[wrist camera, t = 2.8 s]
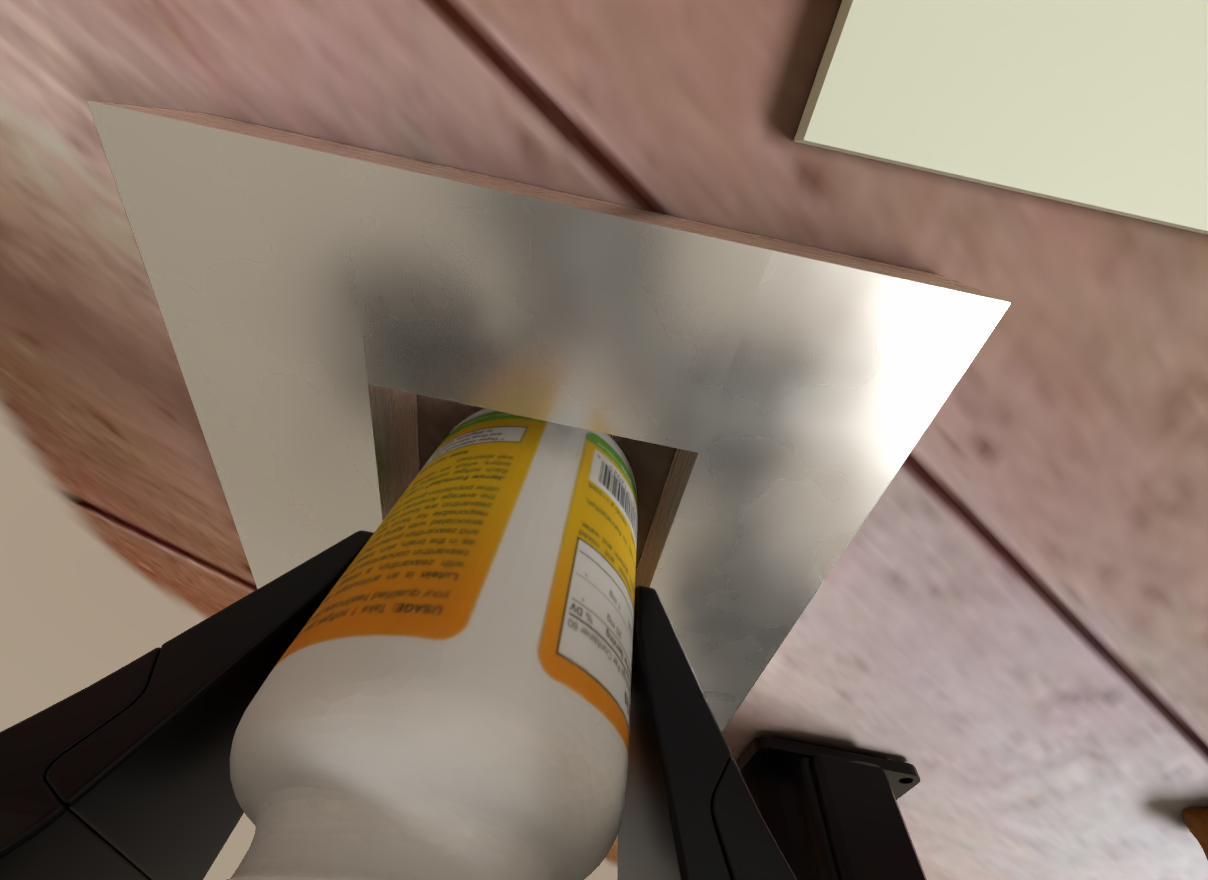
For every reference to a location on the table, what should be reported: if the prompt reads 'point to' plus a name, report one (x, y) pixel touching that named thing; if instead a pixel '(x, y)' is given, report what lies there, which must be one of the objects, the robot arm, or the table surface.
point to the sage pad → (1027, 98)
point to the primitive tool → (1198, 825)
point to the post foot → (533, 356)
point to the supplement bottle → (459, 676)
